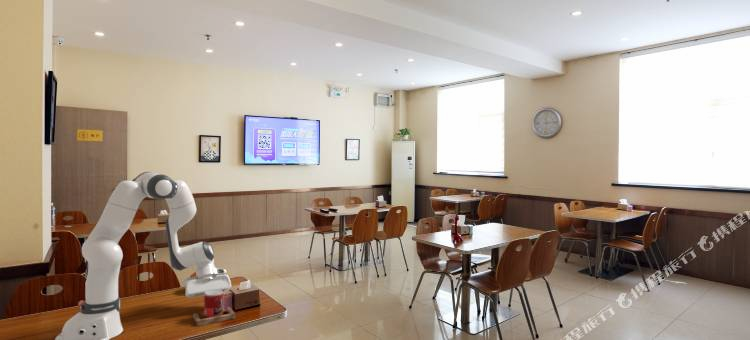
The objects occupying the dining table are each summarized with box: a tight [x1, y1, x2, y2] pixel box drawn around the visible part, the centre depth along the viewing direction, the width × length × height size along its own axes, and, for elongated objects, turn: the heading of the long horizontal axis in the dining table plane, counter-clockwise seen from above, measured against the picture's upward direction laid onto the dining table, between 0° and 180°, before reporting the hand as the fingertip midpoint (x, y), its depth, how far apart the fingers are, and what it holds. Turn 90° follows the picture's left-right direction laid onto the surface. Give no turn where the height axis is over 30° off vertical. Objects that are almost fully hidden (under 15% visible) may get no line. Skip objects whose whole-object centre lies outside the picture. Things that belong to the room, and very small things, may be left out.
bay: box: [192, 306, 236, 327], centre depth 184 cm, size 16×10×2 cm, turn 123°
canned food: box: [203, 289, 224, 318], centre depth 187 cm, size 8×8×11 cm
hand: (211, 302), depth 191 cm, fingers closed, pressing on canned food
